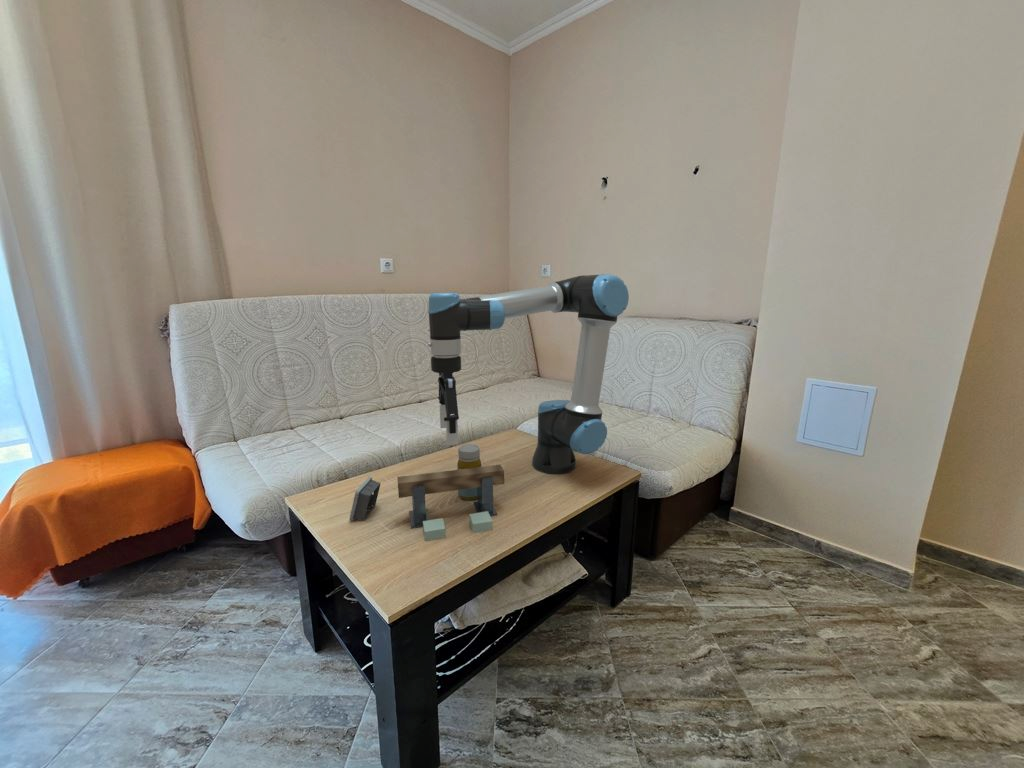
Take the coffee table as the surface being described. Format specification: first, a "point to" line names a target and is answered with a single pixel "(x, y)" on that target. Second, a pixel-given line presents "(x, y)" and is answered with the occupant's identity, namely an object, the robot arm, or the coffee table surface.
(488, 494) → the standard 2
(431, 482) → the rail
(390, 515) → the coffee table surface
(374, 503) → the electrical switch
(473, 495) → the bottle
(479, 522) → the blocks
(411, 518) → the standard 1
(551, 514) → the coffee table surface
